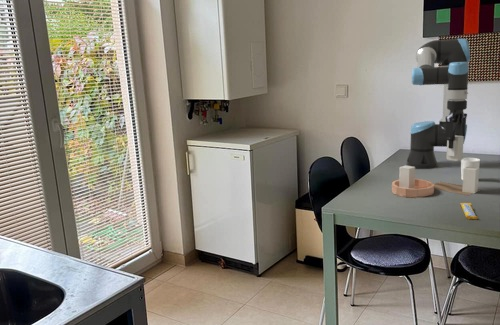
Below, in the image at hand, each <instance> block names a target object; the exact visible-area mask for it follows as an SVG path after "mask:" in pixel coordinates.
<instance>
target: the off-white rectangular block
mask: <svg viewBox="0 0 500 325" xmlns="http://www.w3.org/2000/svg"><path fill="white" fill-rule="evenodd" d="M463 140H464V136H457V135H455V140H454V141H456V145H455V156H449V155H448V144H449V141H448V140H447V147H446V160H448V161H455V162H458V161H461V160H462V159H463V158H464V157H463V156H464V144H463Z"/></svg>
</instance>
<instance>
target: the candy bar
mask: <svg viewBox="0 0 500 325" xmlns="http://www.w3.org/2000/svg"><path fill="white" fill-rule="evenodd" d="M459 204H460V207H461V208H462V211H463V213H464V216H465V218H466V219H467V220H479V216H478V215H476V214H475V212H474V209H473V206H472V205H473V204H472V203H471V202H460V203H459Z"/></svg>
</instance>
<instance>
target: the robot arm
mask: <svg viewBox="0 0 500 325" xmlns="http://www.w3.org/2000/svg"><path fill="white" fill-rule="evenodd" d="M415 59H416V62H417V67H415V68H412V70H411V84H412V85H414V86H427V85H428V86H429V85H430V86H431V85H443V100H442V102H443V103H442V117H441V119H439V121H438V122H439V123H437V124H436V122H435V121H433V120H429V121H428V120H427V121H425V120H424V121H421V122H420V121H419V122H415V123H413V124H412V125H411V127H410V132H409V134H410V148H409V150H410V151H409V153H408V157H407V159H406V166H412V167H415V169H421V170H423V169H426V170H427V169H434V168H437V167H438V162H437V158H436V156H435V155H436V154H435V151H434V150H435V147H439V148H440V147H441V148H442V147H445V148H447V140H448V141H449V144H448V155H449V156H455V145H456V141H454V140H455V135H457V136H464V140H463V145H465V141H466V138H467V131H468V124H467V117H468V113H465V112H464V110H467V108H468V107H467V106H468V101H467V99H468V94H469V92H468V89H469V87H468V83H469V72H470V68H469V67H470V66H469V63H470V61H471V50H470V43H469V41H468V39H466V38H451V39H450V38H449V39H448V38H447V39H435V40H431V41H428V42H426V43H424V44H423V45H421V46H420V47H419V48H418V50H417V51H416V55H415ZM435 64H441V65H440V66H435Z"/></svg>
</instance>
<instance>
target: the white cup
mask: <svg viewBox="0 0 500 325" xmlns="http://www.w3.org/2000/svg"><path fill="white" fill-rule="evenodd" d="M480 164H481V159H480V158H477V157H463V159H462V160H460V174H461V178H460V179H461V180H462V181H463V169H464V168H466V167H475V168H479V169H480Z"/></svg>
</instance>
